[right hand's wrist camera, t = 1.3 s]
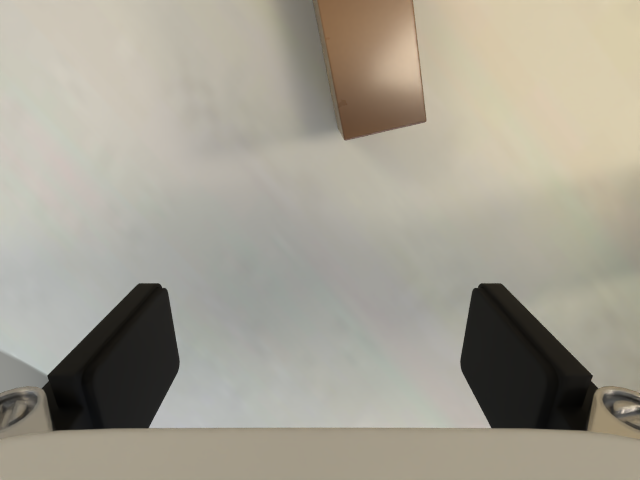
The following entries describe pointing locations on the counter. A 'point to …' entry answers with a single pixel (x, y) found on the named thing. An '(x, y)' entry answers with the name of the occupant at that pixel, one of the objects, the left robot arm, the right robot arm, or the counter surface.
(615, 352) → the counter surface
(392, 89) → the bar
